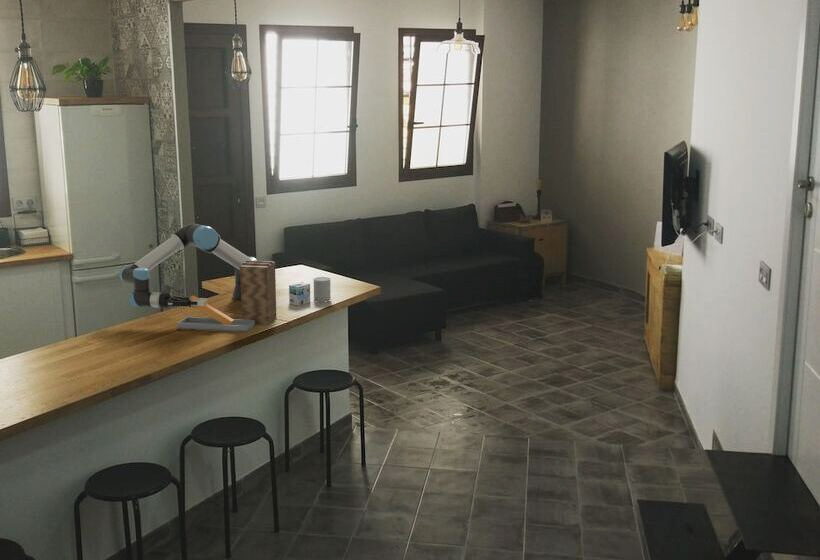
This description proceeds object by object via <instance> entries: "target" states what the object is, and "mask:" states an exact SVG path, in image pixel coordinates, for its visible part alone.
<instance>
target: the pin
mask: <svg viewBox="0 0 820 560" xmlns="http://www.w3.org/2000/svg"><path fill="white" fill-rule="evenodd" d="M199 298H200V297H197V296H195V295H194V294H193V295H191V297H190V299H189V300H200V299H199ZM204 305H205V306H193V305H191V307H194V308H196V309H197V310H199V311H201V312H203V313H204V314H205V315H207V316H209V317H210V318H214V319H216V320H217V321H219V322H221V323H222V324H224V325H232V323H233V321H234V319H235V318H232V317H230V316H229V315H227V314H225V313H223V312H222V311H220V310H219V309H217V308H215V307H213V305H210V304H209V303H208V304H207V303H205V302H204Z"/></svg>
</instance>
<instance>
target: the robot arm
mask: <svg viewBox="0 0 820 560" xmlns="http://www.w3.org/2000/svg"><path fill="white" fill-rule="evenodd" d="M189 246H193V247H196V248H198V249H200V250H201V251H203V252H205V253H207V254H213V255H215V256H216V257H218V258H219V259H221V260H222V261H224V262H226V263H228V264H229V265H231V266H233V268H234V280H235V281H234V287H233V291H232V298H233V299H234V300H236V301H237V300H238V301H241V281H240V266H241V265H242V263H243V262H244V263H246V260H249V261H260V260H259V259H257V258H255V256H248V255H246V254H245V253H243V252H241V251H240V250H238V249H237V248H235V247H234V246H232V245H230V244H229V243H227V242H226V241H225V240H223V239H222V238H221V236H220V234H219V233H218V232H217V231H216V229H214V228H212V227H211V226H208V225H202V224H197V223H189V224H186V225H183V226H182V227H181V228H179V229H177V230H176V231H175V232H173V233H172V234H171V235H170V237H169V238H168V239H167V240H166V241H164V242H162V243H161V244H160V245H158V246H157V247H155V248H154V249H153V250H151V251H149V252H148V253H147V254H146V255H144V256H143V257H142V258H140V259H138V260H137V261H136V262H134V263H133V264H132V265H130V266H124V267H122V268H121V269H120V270H119V273H118V278H119V279H120V281H122V282H124V283H126V284H129V285H132V286H133V291H131V293H130V294H129V298H128V300H129V304H130V305H131V306H132V307H140V308H143V307H144V308H155V309H157V308H162V309H163V308H165V309H168V308H170V307H189V308H191V307H194V306H205V305H204V302H205V303H207V304H209V303H208V297H207V298H205V297H198V298H199V299H200V300H189V299H190V297H191V296H192V295H191V296H190V295H189V296H188V295H180V294H178V295H173V296H171V294H170V293H169V292H158V291H157V292H155V291H153V292H152V291H151V289H150V288H151V285H150V274H149V273H150V271H152V269H154V268H156V266H159V264H161V263H162V262H164V261H165V260H166V259H168V258H169V257H171V256H173V254H175V253H176V252H178V251H179V250H184V249H185V248H186V247H189ZM192 305H193V306H192Z"/></svg>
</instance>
